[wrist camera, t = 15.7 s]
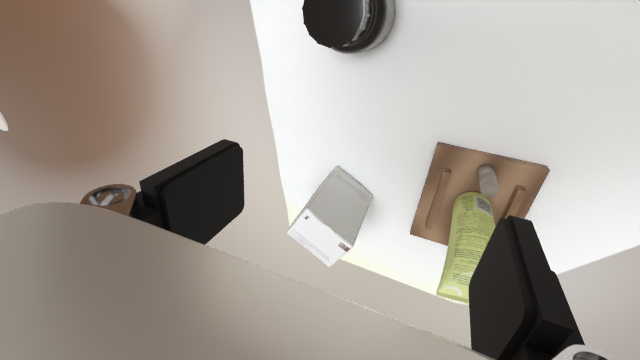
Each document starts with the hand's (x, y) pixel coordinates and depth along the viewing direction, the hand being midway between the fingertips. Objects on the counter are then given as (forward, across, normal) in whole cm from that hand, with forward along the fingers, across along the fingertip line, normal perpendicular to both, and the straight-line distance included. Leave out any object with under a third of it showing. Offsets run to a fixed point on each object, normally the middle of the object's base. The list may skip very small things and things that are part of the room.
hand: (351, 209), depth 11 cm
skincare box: (+36, +8, +21) cm, 43 cm away
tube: (+35, -11, +17) cm, 40 cm away
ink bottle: (+36, +10, -6) cm, 38 cm away
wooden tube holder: (+36, -11, +17) cm, 42 cm away
